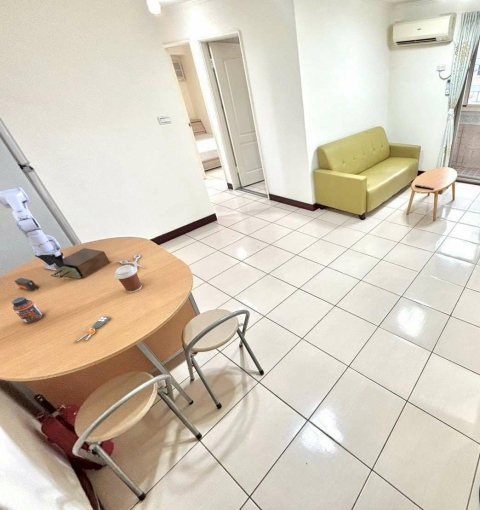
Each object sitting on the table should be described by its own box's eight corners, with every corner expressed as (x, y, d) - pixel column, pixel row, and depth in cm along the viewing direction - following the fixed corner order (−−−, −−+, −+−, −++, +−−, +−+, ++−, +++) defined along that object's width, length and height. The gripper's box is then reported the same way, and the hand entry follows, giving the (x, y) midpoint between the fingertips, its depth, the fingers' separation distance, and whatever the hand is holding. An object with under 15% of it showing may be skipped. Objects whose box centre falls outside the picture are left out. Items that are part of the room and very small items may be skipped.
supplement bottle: (27, 325, 117) (10, 306, 111) (23, 320, 120) (5, 301, 114) (45, 317, 121) (29, 298, 115) (40, 312, 124) (25, 293, 118)
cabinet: (84, 277, 145) (77, 265, 141) (64, 273, 148) (56, 261, 144) (110, 262, 157) (103, 251, 153) (91, 259, 160) (84, 247, 156)
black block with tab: (20, 288, 138) (14, 280, 135) (26, 285, 140) (20, 277, 137) (33, 291, 136) (26, 283, 133) (39, 288, 138) (33, 280, 135)
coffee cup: (119, 291, 136) (108, 271, 129) (137, 280, 143) (127, 262, 136) (131, 296, 133) (119, 276, 126) (148, 285, 140) (139, 266, 133)
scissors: (137, 253, 164) (151, 264, 153) (138, 254, 164) (152, 266, 154) (117, 261, 157) (130, 273, 146) (117, 262, 157) (131, 275, 147)
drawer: (69, 284, 139) (62, 275, 136) (49, 280, 142) (43, 271, 139) (103, 264, 154) (98, 255, 151) (85, 261, 157) (79, 252, 154)
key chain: (103, 318, 121) (101, 315, 120) (110, 318, 121) (109, 316, 120) (76, 341, 110) (74, 339, 109) (85, 342, 110) (83, 340, 109)
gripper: (19, 244, 129) (37, 267, 137) (42, 248, 126) (58, 272, 134) (36, 237, 135) (52, 260, 143) (58, 241, 132) (73, 264, 139)
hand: (56, 265), depth 139 cm, fingers open, 6 cm apart
